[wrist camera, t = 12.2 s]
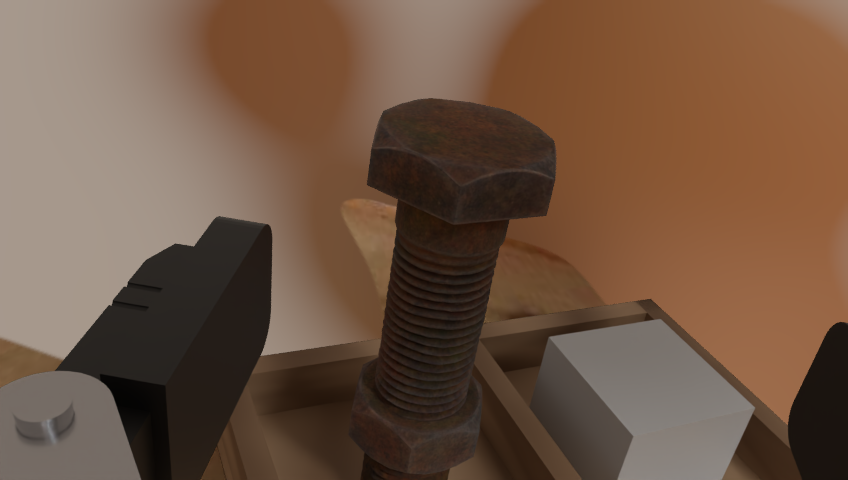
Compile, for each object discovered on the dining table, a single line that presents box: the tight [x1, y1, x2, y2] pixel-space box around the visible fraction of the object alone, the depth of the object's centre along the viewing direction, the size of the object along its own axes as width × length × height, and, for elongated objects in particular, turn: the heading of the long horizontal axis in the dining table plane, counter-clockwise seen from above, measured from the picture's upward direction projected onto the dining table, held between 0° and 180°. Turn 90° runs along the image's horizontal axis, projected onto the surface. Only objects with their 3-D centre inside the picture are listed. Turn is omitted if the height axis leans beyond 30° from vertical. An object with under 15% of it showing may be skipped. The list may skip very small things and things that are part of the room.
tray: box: [217, 299, 802, 480], centre depth 31 cm, size 22×14×4 cm, turn 113°
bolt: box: [348, 98, 556, 480], centre depth 26 cm, size 6×5×15 cm
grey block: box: [529, 319, 755, 480], centre depth 33 cm, size 6×6×4 cm
